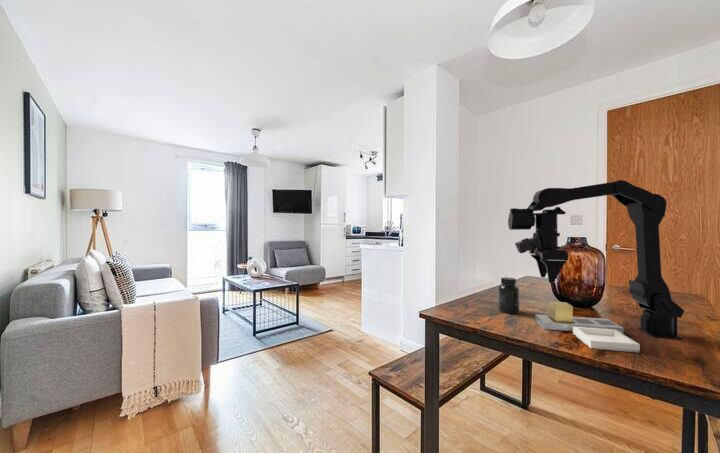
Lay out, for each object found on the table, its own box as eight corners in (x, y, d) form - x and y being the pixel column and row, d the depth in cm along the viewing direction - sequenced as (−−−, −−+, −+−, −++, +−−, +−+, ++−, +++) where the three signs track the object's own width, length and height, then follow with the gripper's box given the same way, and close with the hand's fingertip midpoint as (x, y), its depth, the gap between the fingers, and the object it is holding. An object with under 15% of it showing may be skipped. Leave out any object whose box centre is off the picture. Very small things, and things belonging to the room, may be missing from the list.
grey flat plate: (607, 325, 89) (607, 318, 89) (623, 335, 82) (623, 327, 82) (535, 320, 95) (535, 314, 95) (543, 329, 87) (543, 322, 87)
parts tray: (615, 336, 81) (615, 329, 81) (639, 352, 71) (639, 344, 71) (573, 333, 83) (572, 326, 83) (590, 348, 73) (590, 340, 73)
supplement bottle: (522, 314, 101) (521, 280, 101) (501, 313, 102) (500, 280, 102) (515, 308, 108) (515, 276, 107) (496, 308, 109) (495, 276, 109)
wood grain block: (566, 324, 91) (566, 302, 91) (572, 329, 86) (572, 306, 86) (550, 323, 92) (549, 301, 92) (555, 328, 88) (555, 305, 88)
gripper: (512, 229, 101) (512, 273, 101) (523, 230, 83) (523, 284, 83) (549, 228, 97) (549, 275, 97) (568, 230, 79) (569, 286, 79)
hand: (546, 279), depth 89 cm, fingers open, 9 cm apart
